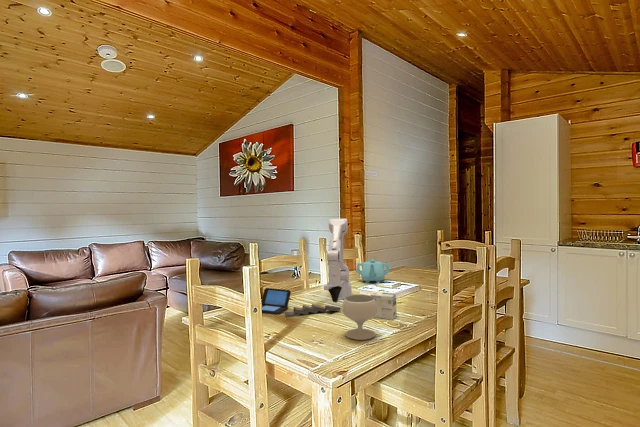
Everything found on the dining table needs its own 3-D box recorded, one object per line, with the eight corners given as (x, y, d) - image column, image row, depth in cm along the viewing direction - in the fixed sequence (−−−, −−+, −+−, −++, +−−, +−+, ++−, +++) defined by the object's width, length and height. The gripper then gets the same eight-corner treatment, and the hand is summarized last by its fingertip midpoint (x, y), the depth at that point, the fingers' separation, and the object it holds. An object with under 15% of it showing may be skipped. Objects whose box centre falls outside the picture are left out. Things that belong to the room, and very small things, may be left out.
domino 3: (315, 308, 185) (303, 304, 183) (317, 310, 180) (305, 307, 179) (314, 311, 184) (302, 307, 183) (316, 313, 180) (304, 310, 178)
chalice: (353, 344, 142) (352, 305, 141) (337, 332, 155) (336, 296, 154) (384, 337, 148) (384, 300, 147) (366, 326, 160) (365, 292, 160)
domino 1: (297, 310, 182) (284, 312, 180) (299, 313, 178) (286, 315, 176) (297, 314, 182) (284, 315, 180) (299, 316, 178) (286, 318, 176)
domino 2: (306, 309, 183) (293, 306, 181) (308, 311, 179) (295, 309, 177) (305, 312, 183) (293, 310, 181) (308, 314, 179) (295, 312, 177)
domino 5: (333, 306, 187) (325, 305, 182) (340, 307, 184) (332, 307, 179) (333, 309, 186) (324, 308, 182) (340, 311, 183) (331, 310, 179)
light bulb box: (396, 315, 175) (396, 292, 174) (393, 320, 168) (393, 296, 168) (374, 313, 179) (374, 290, 179) (370, 317, 173) (370, 294, 172)
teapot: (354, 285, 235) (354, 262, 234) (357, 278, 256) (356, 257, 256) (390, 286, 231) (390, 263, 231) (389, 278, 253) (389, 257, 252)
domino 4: (324, 307, 186) (312, 303, 184) (326, 309, 182) (314, 306, 180) (323, 310, 186) (311, 306, 184) (325, 312, 182) (313, 309, 180)
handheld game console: (251, 312, 186) (250, 293, 186) (265, 305, 198) (264, 287, 198) (279, 315, 180) (278, 296, 180) (291, 307, 192) (291, 289, 192)
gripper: (336, 271, 192) (337, 297, 193) (318, 276, 181) (319, 303, 182) (348, 272, 188) (348, 299, 189) (330, 277, 177) (330, 306, 177)
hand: (335, 301), depth 185 cm, fingers closed
